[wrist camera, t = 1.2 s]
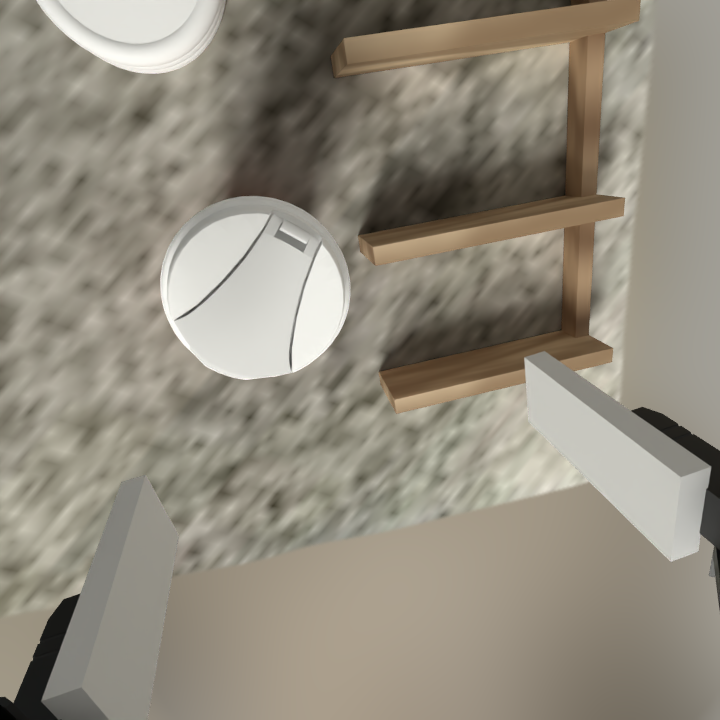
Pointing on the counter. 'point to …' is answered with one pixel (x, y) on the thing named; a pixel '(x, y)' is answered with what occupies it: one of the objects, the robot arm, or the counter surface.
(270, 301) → the coffee cup
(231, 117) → the counter surface
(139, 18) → the white round dish
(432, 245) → the oak rack
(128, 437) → the counter surface
